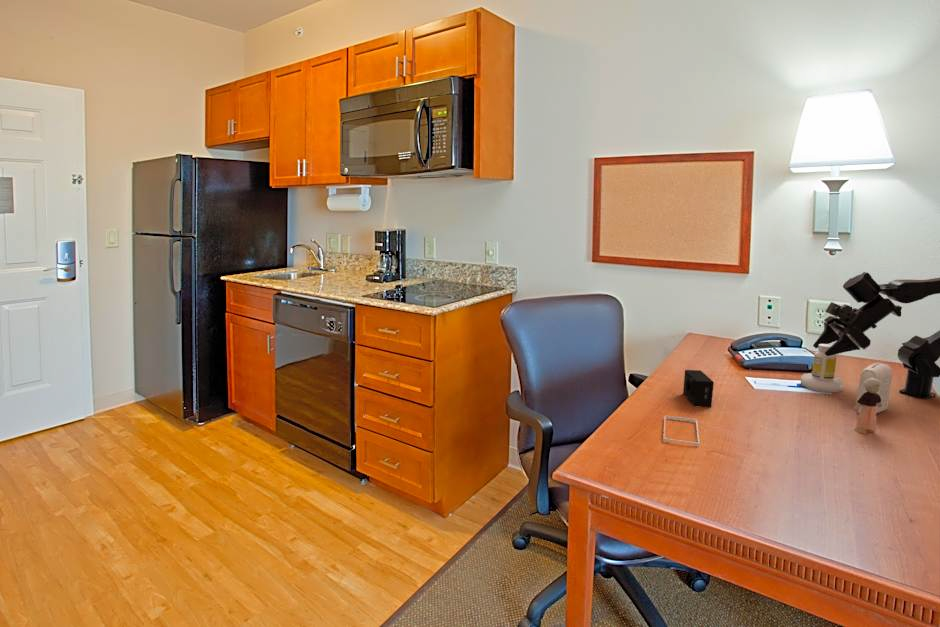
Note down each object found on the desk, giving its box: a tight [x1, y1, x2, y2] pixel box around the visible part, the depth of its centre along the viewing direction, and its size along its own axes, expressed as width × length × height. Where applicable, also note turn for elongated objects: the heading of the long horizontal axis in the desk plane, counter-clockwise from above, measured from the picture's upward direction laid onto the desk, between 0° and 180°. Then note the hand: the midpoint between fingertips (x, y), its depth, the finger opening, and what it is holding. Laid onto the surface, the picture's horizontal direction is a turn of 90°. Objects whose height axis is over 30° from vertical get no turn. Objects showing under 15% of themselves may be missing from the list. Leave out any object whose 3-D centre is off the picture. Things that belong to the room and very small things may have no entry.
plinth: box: [800, 372, 843, 393], centre depth 162 cm, size 10×10×2 cm
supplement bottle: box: [811, 343, 837, 381], centre depth 161 cm, size 5×5×10 cm
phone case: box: [662, 415, 700, 447], centre depth 129 cm, size 7×1×15 cm
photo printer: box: [855, 362, 893, 414], centre depth 142 cm, size 10×4×12 cm, turn 123°
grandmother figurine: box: [853, 378, 882, 435], centre depth 129 cm, size 8×4×13 cm, turn 117°
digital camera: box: [682, 369, 715, 408], centre depth 149 cm, size 10×5×7 cm, turn 175°
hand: (819, 350), depth 161 cm, fingers open, 9 cm apart
